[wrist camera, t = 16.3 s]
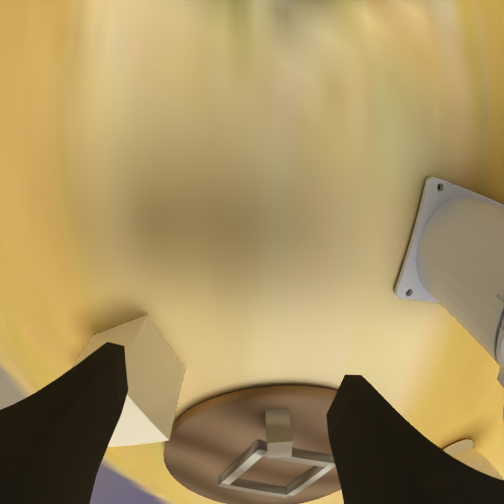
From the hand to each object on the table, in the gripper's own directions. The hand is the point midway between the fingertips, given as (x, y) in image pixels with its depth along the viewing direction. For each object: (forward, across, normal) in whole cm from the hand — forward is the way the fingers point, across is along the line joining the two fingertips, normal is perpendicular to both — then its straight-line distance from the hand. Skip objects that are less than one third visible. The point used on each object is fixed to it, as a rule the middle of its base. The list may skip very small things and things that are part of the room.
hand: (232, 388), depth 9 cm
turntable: (+9, -6, +18) cm, 21 cm away
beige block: (+9, +7, +8) cm, 14 cm away
